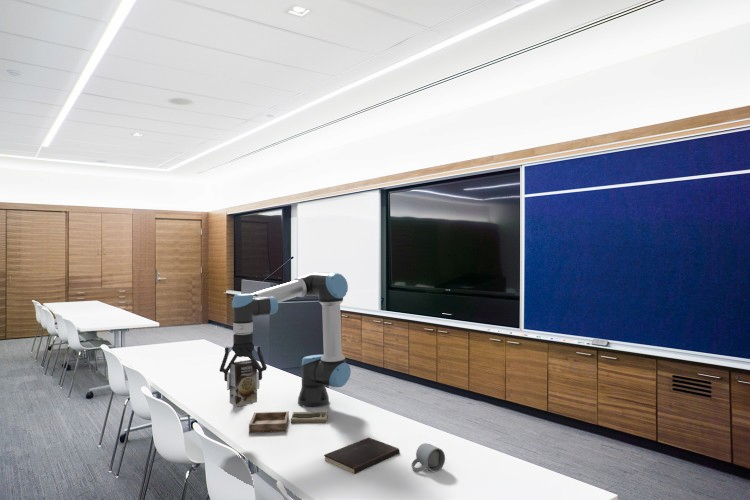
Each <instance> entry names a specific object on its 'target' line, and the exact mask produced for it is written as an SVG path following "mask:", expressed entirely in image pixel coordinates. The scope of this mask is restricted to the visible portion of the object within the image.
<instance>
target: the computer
mask: <svg viewBox="0 0 750 500" xmlns="http://www.w3.org/2000/svg"><path fill="white" fill-rule="evenodd" d="M328 418H329V411H293V412H292V415H291V417H290V423H291V424H325V423H326V424H327V423H328Z"/></svg>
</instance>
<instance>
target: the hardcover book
mask: <svg viewBox="0 0 750 500" xmlns="http://www.w3.org/2000/svg"><path fill="white" fill-rule="evenodd" d="M400 453H401V452H400V448H398V447H396V446H393V445H390V444H387V443H385V442H382V441H381V440H380V441H379V440H377V439H375V438H372V437H367V438H364V439H361V440H359V441H356V442H354V443H351V444H348V445H346V446H343V447H341V448H339V449H336V450H333V451H331V452H328V453H325V454H323V457H324V461H327V462H329V463H331V464H332V465H335V466H336V467H340V468H342V469H344V470H346V471H348V472H350V473H352V474H353V475H356V474H357V473H359V472H363V471H365V470H367V469H369V468H371V467H373V466H376V465H377V464H380V463H382V462H384V461H387V460H389V459H391V458H393V457H395V456H397V455H400Z"/></svg>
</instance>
